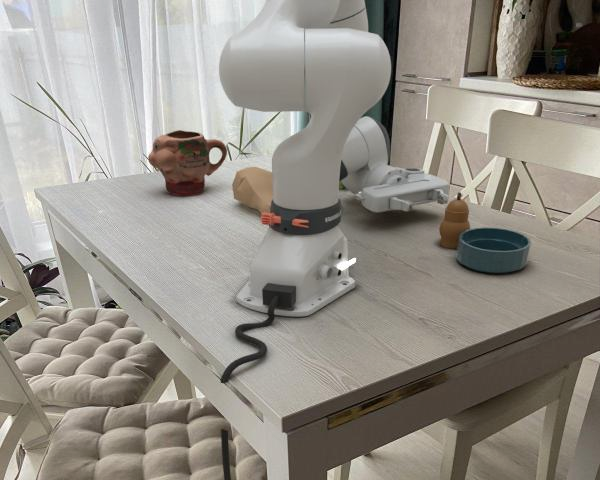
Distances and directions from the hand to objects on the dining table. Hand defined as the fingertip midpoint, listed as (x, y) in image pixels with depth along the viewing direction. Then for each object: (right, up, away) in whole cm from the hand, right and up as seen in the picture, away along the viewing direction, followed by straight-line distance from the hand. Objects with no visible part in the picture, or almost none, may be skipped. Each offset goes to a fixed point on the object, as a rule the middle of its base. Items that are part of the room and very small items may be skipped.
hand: (428, 203), depth 127 cm
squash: (-36, +4, +17) cm, 40 cm away
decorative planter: (-55, +13, +31) cm, 65 cm away
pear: (+4, -9, -3) cm, 11 cm away
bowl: (+10, -15, -11) cm, 21 cm away
